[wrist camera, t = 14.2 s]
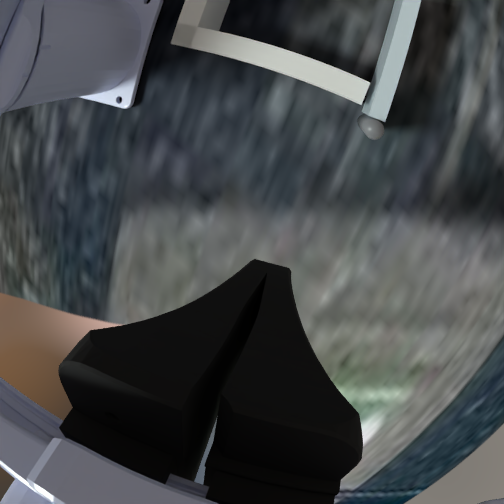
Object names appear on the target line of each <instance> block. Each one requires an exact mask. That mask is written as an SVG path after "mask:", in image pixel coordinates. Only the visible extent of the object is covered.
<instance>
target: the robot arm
mask: <svg viewBox="0 0 504 504" xmlns="http://www.w3.org/2000/svg"><path fill="white" fill-rule="evenodd" d="M147 1H148V0H0V115H1V114H2V113H3V112H7V111H11V110H15V109H19V108H23V107H27V106H32V105H36V104H41V103H46V102H51V101H56V100H62V99H67V98H73V97H80V98H84V99H88V100H93V101H97V102H101V103H105V104H108V105H112V106H116V107H120V108H123V109H127V108H130V107H132V105H133V103H134V100H135V95H136V91H137V87H138V83H139V79H140V75H141V72H142V68H143V64H144V61H145V57H146V54H147V50H148V47H149V44H150V40H151V37H152V34H153V31H154V28H155V24H156V21H157V18H158V15H159V13H160V10H161V7H162V4H163V0H151V1H150V3H148V4H147ZM120 97H122V102H121V103H120V101H119V99H120ZM59 377H60V380H61V383H62V385H63V387H64V390H65V392H66V394H67V396H68V398H69V400H70V402H71V404H72V407H73V408H72V410H71V411H70V412H69V414H68V415H67V417H66V418H65V420H64V421H63V420H61V419H59V418H58V417H56V416H55V415H53V414H51V413H50V412H48V411H47V410H45V409H44V408H42V407H41V406H39V405H38V404H36V403H35V402H33V401H32V400H30V399H29V398H28V397H26V396H25V395H23V394H22V393H21V392H19V391H18V390H17V389H15V388H14V387H13V386H11V385H10V384H9V383H7V382H6V381H5V380H3V379H2V378H1V377H0V466H1V467H2V468H3V469H4V470H5V471H6V472H8V473H9V474H10V475H11V476H13V477H14V478H15V480H14V482H13V483H12V485H11V486H10V488H9V489H8V491H7V492H6V494H5V495H4V497H3V499H2V500H1V502H0V504H334V498H335V495H337V494H338V493H339V490H340V481H341V479H342V478H343V477H344V476H345V475H347V474H348V473H349V472H350V471H351V470H352V469H353V468H354V467H356V466H357V464H358V463H359V462H360V460H361V459H362V450H363V438H362V429H361V422H360V416H359V413H358V412H357V411H356V410H355V409H354V408H353V406H352V405H351V404H350V403H349V402H348V401H347V400H346V398H345V397H344V396H343V395H342V394H341V393H340V392H339V390H338V389H337V388H336V386H335V385H334V384H333V382H332V381H331V380H330V378H329V376H328V375H327V373H326V372H325V370H324V368H323V367H322V365H321V364H320V362H319V360H318V359H317V357H316V355H315V353H314V351H313V349H312V347H311V345H310V343H309V341H308V338H307V336H306V334H305V331H304V329H303V326H302V323H301V320H300V317H299V314H298V311H297V308H296V304H295V300H294V295H293V290H292V284H291V270H290V269H289V268H287V267H283V266H279V265H275V264H272V263H268V262H264V261H260V260H256V259H254V260H252V261H250V262H249V263H248V264H247V265H246V266H245V267H243V268H242V269H241V270H240V271H239V272H237V273H236V274H235V275H234V276H232V277H231V278H229V279H228V280H227V281H225V282H224V283H223V284H221V285H220V286H218V287H217V288H215V289H213V290H212V291H210V292H209V293H207V294H205V295H204V296H202V297H200V298H198V299H197V300H195V301H193V302H191V303H189V304H187V305H185V306H183V307H180V308H178V309H176V310H173V311H170V312H167V313H165V314H162V315H159V316H157V317H154V318H150V319H147V320H143V321H139V322H135V323H131V324H127V325H122V326H116V327H110V328H103V329H97V330H90V331H89V332H88V333H87V334H86V335H85V336H84V337H83V338H82V339H81V340H80V341H79V342H78V344H77V345H76V346H75V347H74V348H73V350H72V351H71V352H70V353H69V355H68V356H67V357H66V358H65V359H64V360H63V362H62V363H61V364H60V365H59ZM217 416H218V417H217ZM216 418H217V423H216V429H215V435H214V441H213V444H212V447H211V449H210V452H209V454H208V457H207V460H206V463H205V467H206V469H205V476H204V484H203V485H201V484H199V483H195V482H194V480H195V478H196V474H197V472H198V469H199V466H200V463H201V460H202V457H203V455H204V452H205V449H206V446H207V444H208V440H209V438H210V435H211V432H212V429H213V427H214V424H215V421H216ZM479 504H504V498H501V499H495V500H489V501H485V502H481V503H479Z"/></svg>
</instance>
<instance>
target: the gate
mask: <svg viewBox="0 0 504 504" xmlns="http://www.w3.org/2000/svg"><path fill="white" fill-rule="evenodd" d="M420 3H421V0H395V2H394V6H393V10H392V13H391V17H390V21H389V24H388V28H387V31H386V35H385V38H384V42H383V45H382V49H381V52H380V55H379V59H378V62H377V65H376V69H375V72H374V75H373V78H372V81H371V85H370V88H369V91H368V94H367V97H366V100H365V103H364V106H363V109H362V112H363V113H365V114H363V115H361V116H360V117H359V118H358V125H359V127H360V128H361V129H362V130H363V132H364V133H365V134H366V135H367V137H369V138H370V139H374V140H376V139H379V138H381V137H382V135H383V133H384V127H383V125H382V123H381V122H379V121H378V120H381V121H383V122H385V121H386V118H387V115H388V112H389V109H390V106H391V103H392V100H393V97H394V94H395V91H396V88H397V84H398V81H399V78H400V75H401V72H402V68H403V65H404V62H405V58H406V55H407V51H408V48H409V44H410V41H411V37H412V34H413V30H414V26H415V23H416V19H417V15H418V11H419V7H420ZM374 118H376V119H378V120H376V119H374Z"/></svg>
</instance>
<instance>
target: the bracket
mask: <svg viewBox="0 0 504 504" xmlns="http://www.w3.org/2000/svg"><path fill="white" fill-rule="evenodd" d="M229 3H230V0H185V3H184V5H183V8H182V11H181V14H180V17H179V19H178V22H177V25H176V28H175V31H174V34H173V37H172V40H171V44H174V45H178V46H183V47H187V48H192V49H196V50H200V51H205V52H209V53H213V54H217V55H221V56H225V57H229V58H232V59H236V60H239V61H243V62H246V63H250V64H253V65H257V66H260V67H263V68H266V69H269V70H272V71H275V72H278V73H281V74H284V75H287V76H290V77H293V78H296V79H298V80H301V81H304V82H307V83H309V84H312V85H314V86H317V87H320V88H322V89H325V90H327V91H329V92H332V93H334V94H337V95H339V96H341V97H344V98H346V99H348V100H351V101H353V102H355V103H358V104H360V105H362V102H363V100H364V98H365V95H366V93H367V90H368V88H369V85H370V82H368V81H366V80H363V79H361V78H359V77H357V76H354V75H352V74H350V73H347V72H345V71H343V70H340V69H338V68H335V67H333V66H330V65H328V64H325V63H323V62H320V61H317V60H315V59H312V58H309V57H306V56H303V55H300V54H298V53H295V52H292V51H289V50H286V49H282V48H279V47H276V46H273V45H269V44H266V43H263V42H259V41H256V40H252V39H248V38H244V37H240V36H236V35H232V34H228V33H224V32H220V31H219V30H220V27H221V24H222V21H223V19H224V16H225V13H226V11H227V8H228V5H229Z"/></svg>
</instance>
